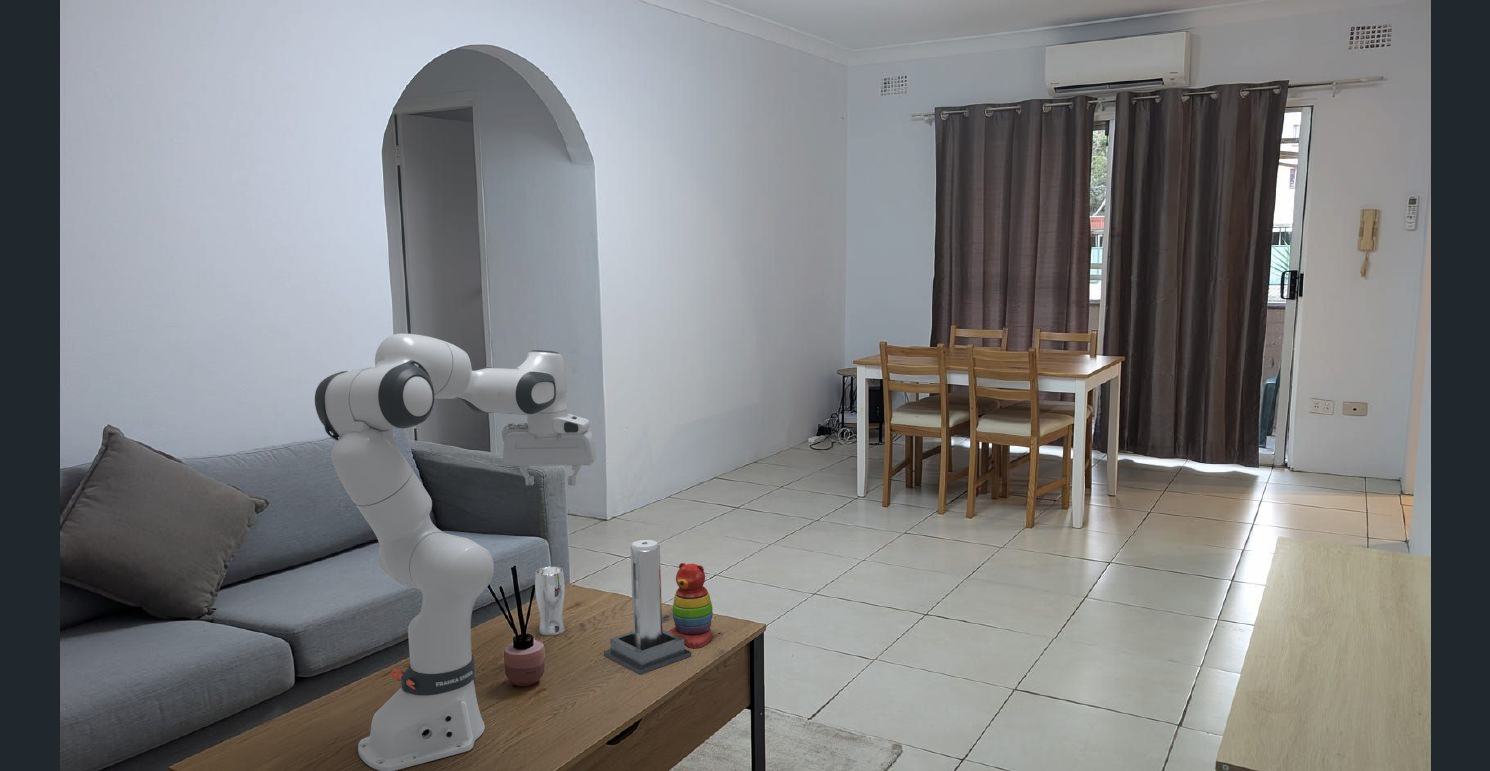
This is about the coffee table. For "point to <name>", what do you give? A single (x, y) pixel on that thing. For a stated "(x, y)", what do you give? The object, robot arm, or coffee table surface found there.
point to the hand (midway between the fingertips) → (550, 484)
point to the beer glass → (550, 599)
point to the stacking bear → (692, 607)
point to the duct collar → (646, 652)
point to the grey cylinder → (646, 594)
